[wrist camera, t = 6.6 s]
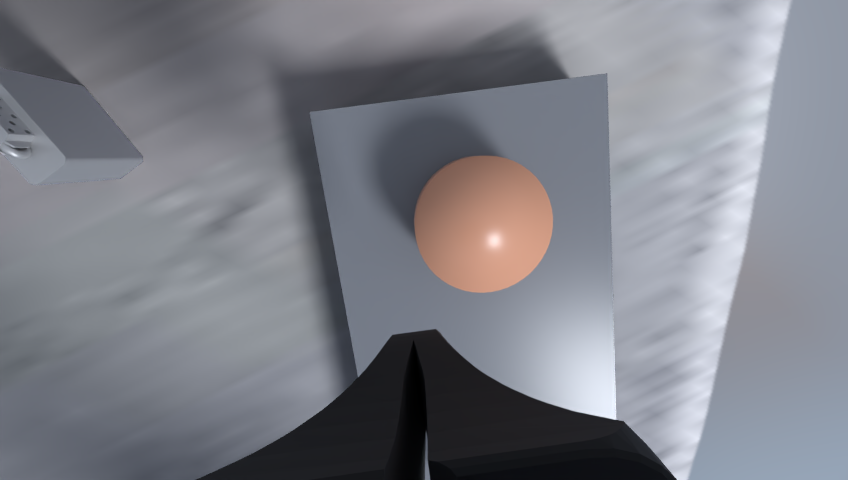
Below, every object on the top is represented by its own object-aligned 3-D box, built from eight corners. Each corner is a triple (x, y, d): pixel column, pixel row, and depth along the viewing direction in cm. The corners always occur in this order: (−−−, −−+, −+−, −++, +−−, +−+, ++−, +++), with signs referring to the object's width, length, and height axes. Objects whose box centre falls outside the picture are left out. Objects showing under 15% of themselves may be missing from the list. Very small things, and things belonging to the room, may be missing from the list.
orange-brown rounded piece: (522, 254, 19) (556, 282, 15) (420, 268, 19) (424, 301, 14) (514, 148, 18) (548, 146, 13) (405, 163, 18) (405, 165, 13)
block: (591, 474, 23) (618, 520, 20) (392, 504, 23) (390, 555, 20) (575, 86, 19) (607, 73, 16) (324, 119, 18) (309, 111, 15)
